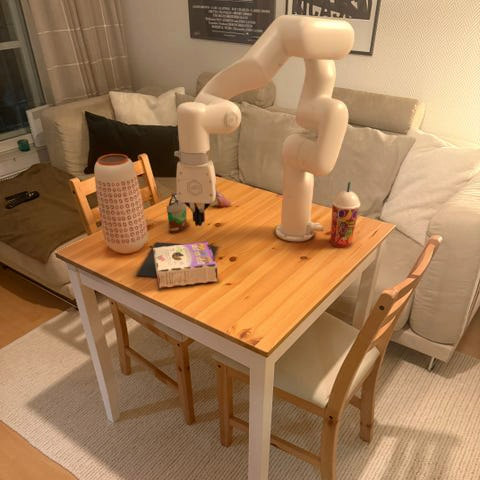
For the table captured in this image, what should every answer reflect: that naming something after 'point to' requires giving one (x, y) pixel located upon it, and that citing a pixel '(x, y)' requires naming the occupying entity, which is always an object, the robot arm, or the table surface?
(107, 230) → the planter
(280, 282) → the table surface
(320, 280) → the table surface
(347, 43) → the robot arm
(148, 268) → the placemat
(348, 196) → the smoothie
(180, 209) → the food container
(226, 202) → the sweet potato
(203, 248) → the candy box
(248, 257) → the table surface
